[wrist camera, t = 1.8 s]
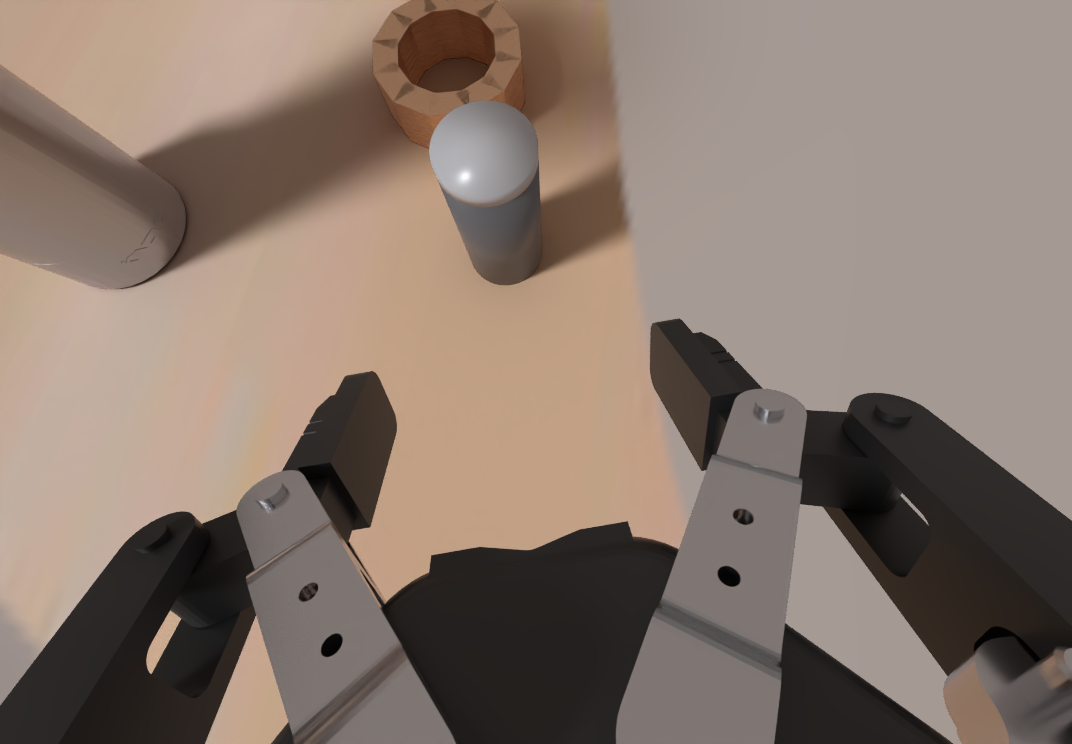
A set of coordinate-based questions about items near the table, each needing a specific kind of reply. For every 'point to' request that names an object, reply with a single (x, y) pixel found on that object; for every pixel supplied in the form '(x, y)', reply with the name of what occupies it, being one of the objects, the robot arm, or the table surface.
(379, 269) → the table surface
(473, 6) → the wooden polygonal ring
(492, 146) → the plug
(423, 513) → the table surface
